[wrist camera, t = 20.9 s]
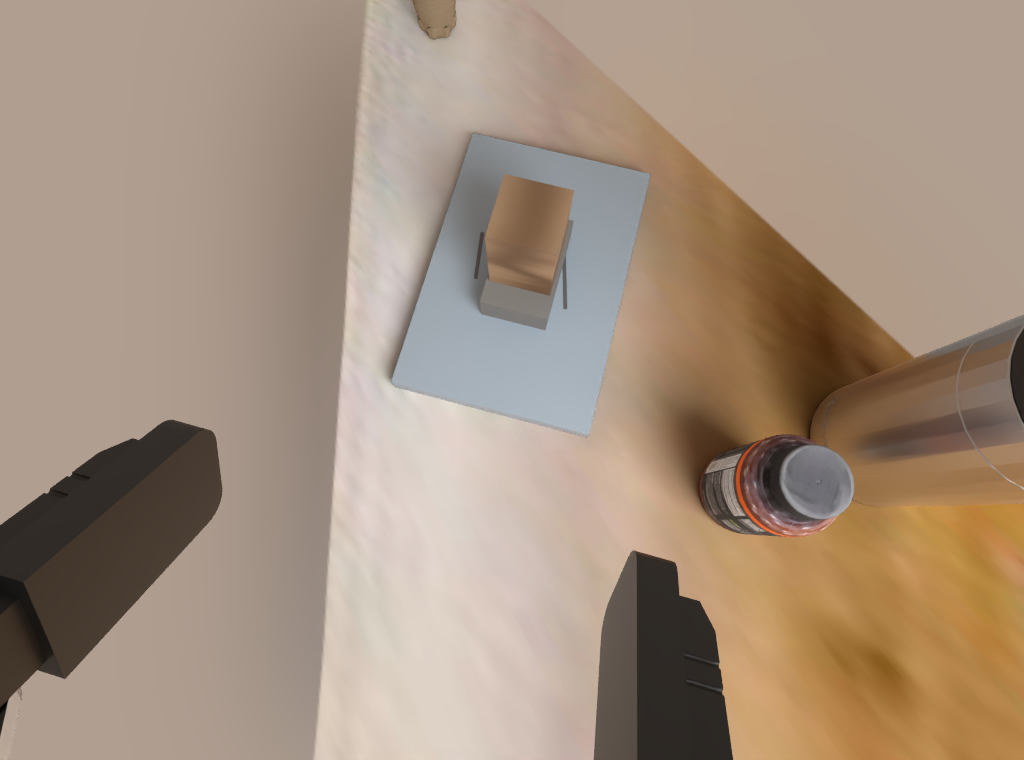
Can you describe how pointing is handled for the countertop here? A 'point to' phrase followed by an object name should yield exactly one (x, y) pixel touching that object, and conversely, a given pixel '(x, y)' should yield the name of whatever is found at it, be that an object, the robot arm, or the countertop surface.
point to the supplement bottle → (777, 487)
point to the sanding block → (526, 250)
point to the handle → (436, 16)
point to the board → (576, 306)
